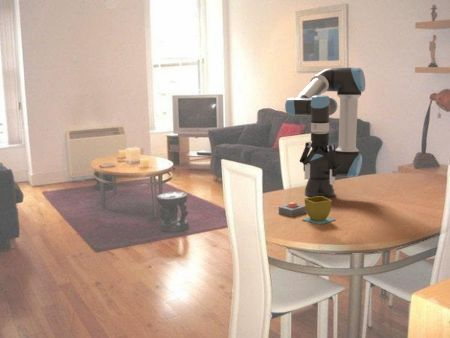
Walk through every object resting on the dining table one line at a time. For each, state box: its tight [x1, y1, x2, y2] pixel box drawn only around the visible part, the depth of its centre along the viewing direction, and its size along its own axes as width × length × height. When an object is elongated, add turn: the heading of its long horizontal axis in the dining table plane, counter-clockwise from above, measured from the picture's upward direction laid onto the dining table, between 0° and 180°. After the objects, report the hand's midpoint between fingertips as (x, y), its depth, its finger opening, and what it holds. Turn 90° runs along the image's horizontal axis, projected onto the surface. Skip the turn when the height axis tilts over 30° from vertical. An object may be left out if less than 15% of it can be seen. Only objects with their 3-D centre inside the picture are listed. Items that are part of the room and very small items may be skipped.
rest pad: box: [302, 216, 336, 226], centre depth 232 cm, size 10×10×1 cm
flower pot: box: [304, 196, 333, 221], centre depth 231 cm, size 9×9×9 cm
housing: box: [278, 203, 307, 217], centre depth 244 cm, size 10×8×3 cm
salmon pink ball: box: [287, 202, 298, 208], centre depth 244 cm, size 4×4×4 cm
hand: (319, 181), depth 229 cm, fingers open, 13 cm apart
